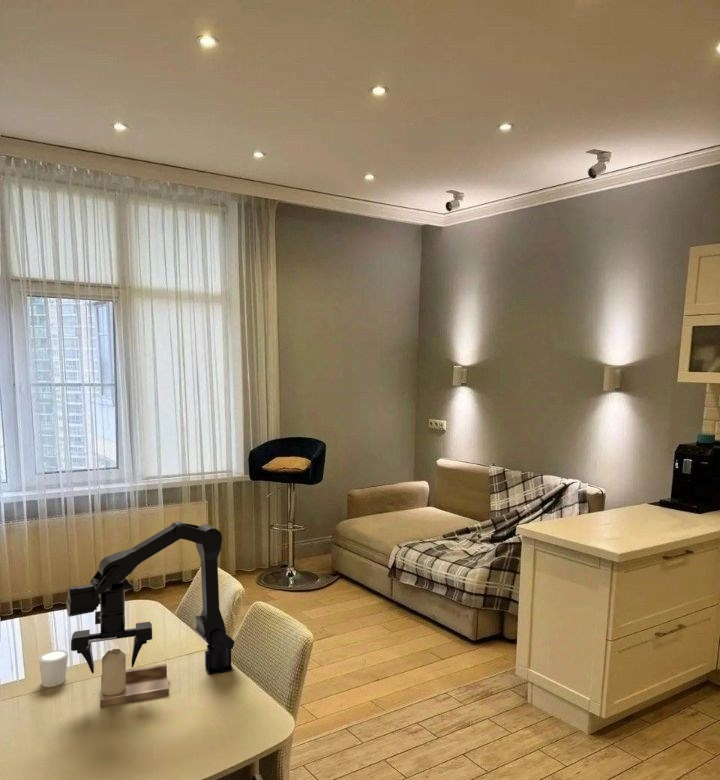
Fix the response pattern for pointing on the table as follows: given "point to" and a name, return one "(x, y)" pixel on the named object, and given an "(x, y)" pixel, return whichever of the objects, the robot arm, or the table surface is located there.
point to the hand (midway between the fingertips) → (112, 669)
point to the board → (140, 685)
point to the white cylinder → (53, 667)
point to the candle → (113, 672)
